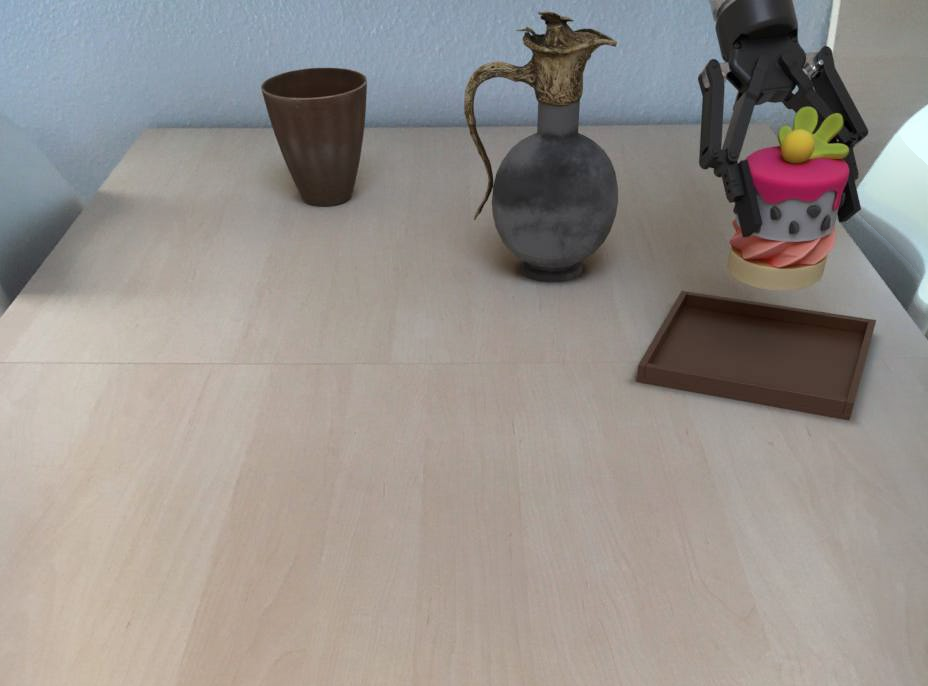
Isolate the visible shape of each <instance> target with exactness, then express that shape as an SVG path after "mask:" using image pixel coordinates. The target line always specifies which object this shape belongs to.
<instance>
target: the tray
mask: <svg viewBox="0 0 928 686" xmlns="http://www.w3.org/2000/svg"><path fill="white" fill-rule="evenodd" d="M876 323H877V320H876V319H874V318H873V319H871V318H865V317H858V316H852V315H846V314H838V313H832V312H826V311H820V310H819V311H818V310H812V309H807V308H806V309H805V308H800V307H799V308H798V307H793V306H786V305H780V304H774V303H773V304H772V303H765V302H760V301H753V300H745V299H738V298H732V297H725V296H719V295H713V294H708V293H707V294H705V293H699V292H694V291H686V290H681V291H680V293H679V294H678V296H677V298H676V299H675V302H674V303H673V304H672V307H671V308H670V309H669V311H668V313H667V315H666V317H665V318H664V320H663V322H662V324H661V325H660V327H659V328H658V330H657V332H656V334H655V336H654V337H653V339H652V341H651V342H650V344H649V346H648V348H647V350H646V351H645V353H644V355H643V356H642V358H641V360H640V362H639V363H638V365H637V372H636V373H637V374H636V383H638V384H645V385H649V386H656V387H661V388H667V389H672V390H677V391H683V392H688V393H694V394H699V395H705V396H710V397H716V398H721V399H727V400H733V401H738V402H744V403H749V404H755V405H761V406H766V407H771V408H777V409H782V410H783V409H784V410H788V411H794V412H798V413H799V412H800V413H804V414H811V415H814V416H815V415H816V416H822V417H827V418H833V419H839V420H844V421H850V420H851V417H852V413H853V409H854V406H855V402H856V398H857V395H858V391H859V387H860V383H861V380H862V376H863V372H864V369H865V364H866V361H867V357H868V354H869V349H870V347H871V341H872V339H873V335H874V331H875V327H876Z"/></svg>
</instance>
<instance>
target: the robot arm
mask: <svg viewBox="0 0 928 686" xmlns="http://www.w3.org/2000/svg"><path fill="white" fill-rule="evenodd" d="M708 3H709V6H710V10H711V14H712V18H713V21H714V22H715V26H714V27H715V28H714V29H715V33H716V34H715V35H716V38H717V42H718V46H719V51H720V56H721V58H722V60H723V61H724V62H720V61H719V60H718V59H716V58H711V59H709V60H708V62H707V63H706V64H705V66H704V68H703V69H702V71H700V73H699V74H698V77H697V81H698V85H699V88H700V92H701V96H702V98H701V99H702V102H701V118H700V120H701V121H700V136H699V154H698V155H699V156H698V165H699V167H700V169H702V170H708V169H713V174H714V176H715V177H717V178H721V181H722V184H723V189H724V193H725V197H726V200H727V201H728V203H729V204H731V203H734V206H736V211H737V215H738V219H739V223H740V228H741V232H742V236H743V237H749V236H751V235H752V234H753V233H754V232H755V231H756V230H757V229H758V228H759V227H760V226H762V225H763V223H762V219H761V215H760V210H759V206H758V202H757V197H756V193H755V189H754V184H753V180H752V176H751V172H750V167H749V163H748V160H745V159H742V160H740V161H738V160H739V158H740V156H741V152H742V149H743V146H744V142H745V140H746V136H747V132H748V130H749V126H750V123H751V119H752V115H753V113H754V110H755V106H762V105H763V104H765V103H773V104H776V103H782V104H783V105H784V107H785V108H786V109H788V110H792V111H793V112H794V113H795V114H796V113H797V112H798V111H799V110H800V109H801V108H803V107H812V108H814V109H815V110H816V111H817V115H818V121H817V125H816V128H815V130H814V132H813V134H815V133H816V132H817V130H818V129H819V128H820V126H821V124H822V123H823V121H824V120H825V119H826V118H827V117H828V116H830V115H832V114H835V113H839V114H841V115H842V117H843V127H842V129H841V131H840V132H839V133H838V134H837V135H836V136H835V137H834V138H832V139H831V140H830V142H829V143H828V144H835V143H840V144H844V145H846V146H847V147H848V148H849V153H848V155H847V156H846V157H845V158H842V159H843V160H844V161H845V162H846V163H847V165H848V167H849V177H848V181H847V183H846V186H845V188H844V190H843V193H845V199H844V203H843V205H842V207H840V208H839V209H838V213H837V218H838V223H846V222H847V221H849V219H852V217H853V216H855V215H856V214H857V213H859V212H860V211H861V210H862V206H861V201H860V198H859V194H858V188H857V185H856V181H857V180H858V179H859V173H860V172H859V169H858V164H857V159H856V156H855V155H856V154H855V152H854V151H855V150H854V148H855V147H856V146H858V144H860V143H861V142H862V141H863V140H864V139H865V138H866V137H867V136H869V129H868V127H867V125H866V123H865V121H864V119H863V117H862V116H861V114H860V112H859V109H858V107H857V105H856V104H855V102H854V101H853V98H852V97H851V94H850V93H849V91H848V88H847V87H846V86H845V83H844V82H843V80H842V78H841V76H840V74H839V73H838V70H837V69H836V66H835V59H834V55H833V51H832V49H831V47H830V46H828V45H824V46H822V47H821V49H819V50H818V51H817V52H806V51H805V50H804V48H803V47H802V45H801V44H800V42H799V22H798V19H797V14H796V9H795V6H794V1H793V0H708ZM804 70H805V71H804ZM727 81H728V82H729V83H730V84H731V86H732V87H734V88H735V90H737V93H736V96H735V99H734V102H733V107H732V115H731V118H730V121H729V124H728V128H727V131H726V134H725V137H724V141H723V127H724V126H723V123H724V106H725V83H726V82H727ZM796 87H797V88H798V89H797V91H796V92H795V93H793V92H794V90H795V89H796ZM813 134H812V135H813ZM722 143H723V145H722Z"/></svg>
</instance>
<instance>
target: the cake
mask: <svg viewBox="0 0 928 686" xmlns="http://www.w3.org/2000/svg"><path fill="white" fill-rule="evenodd" d="M817 121H818V115H817V111H816V110H815V109H814V108H812V107H803V108H801V109H800V110H799V111H798V112H797V113H795V115H794V118H793V123H792V124H793V129H792V127H791V126H789V125H783V126H781V127H780V128H779V130H778V132H777V141H778V144H779V145H775V146H768V147H764V148H761V149H758V150H756V151H753V152H751V153H750V154H749V155H748V156H746V157H745V159H744V160H748V163H749V167H750V172H751V176H752V180H753V184H754V189H755V193H756V197H757V202H758V206H759V210H760V215H761V219H762V223H763V225H762V226H760V227H759V228H758V229H757V230H756V231H755V232H754V233H753V234H752V235H751V236H749V237H743V236H742V232H741V228H740V223H739V219H738V215H737V211H736V206H735V205H734V206H733V210H732V211H733V213H734V215H735V218H734V219H733V220H732V221H731V224H732V227H733V228H734V231H735V233H734V234H733V235H732V236H731V238H730V239H729V242H728V243H729V245H730V250H729V253H728V260H727V271H728V273H729V274H730V275H731V276H732V277H733V279H735V280H737V281H738V282H741V283H743V284H745V285H748V286H751V287H753V288H756V289H757V288H758V289H762V290H763V289H764V290H769V291H785V292H787V291H795V290H803V289H806V288H809V287H813V286H814V285H816V284H817V283H819V282H821V279H822V277H823V276H824V272H825V268H826V263H827V261H828V255H829V253H830V252H831V251H832V250H833V249H834V247H835V243H836V238H837V235H836V234H837V233H836V226H835V225H836V221H837V218H838V215H837V213H838V209H839V208H840V207H842V205H843V203H844V199H845V193H843V190H844V188H845V186H846V183H847V181H848V177H849V167H848V165H847V163H846V162H845V161H844V160H843V159H842V158H845V157H846V156H847V155H848V153H849V148H848V147H847V146H846V145H844V144H840V143H835V144H828V143H829V142H830V140H831V139H832V138H834V137H835V136H836V135H837V134H838V133H839V132H840V131H841V129H842V127H843V117H842V115H841V114H839V113H835V114H832V115H830V116H828V117H827V118H826V119H825V120H824V121H823V123H822V124H821V126H820V128H819V129H818V130H817V132H816V133H815V134H813V132H814V130H815V128H816V125H817Z"/></svg>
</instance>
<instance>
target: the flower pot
mask: <svg viewBox="0 0 928 686" xmlns="http://www.w3.org/2000/svg"><path fill="white" fill-rule="evenodd" d="M260 89H261V93H262V96H263V100H264V104H265V107H266V111H267V114H268V119H269V121H270V123H271V128H272V130H273V134H274V136H275V139H276V141H277V144H278V147H279V150H280V153H281V155H282V158H283V160H284V163H285V165H286V167H287V169H288V172H289V174H290V176H291V178H292V180H293V183H294V184H295V186H296V189H297V190H298V192H299V194H300V197H301V198H302V200H303V202H305V204H307V205H309V206H314V207H332V206H333V207H334V206H338V205H341V204H344V203H346V202H348V201H350V199H351V198H352V196H353V192H354V188H355V184H356V181H357V175H358V171H359V167H360V166H359V165H360V160H361V156H362V148H363V142H364V133H365V124H366V113H367V95H368V94H367V91H368V78H367V77H366V75H364V74H363V73H361V72H359V71H357V70H353V69H348V68H341V67H311V68H309V67H308V68H300V69H296V70H295V69H294V70H290V71H289V70H288V71H285V72H282V73H279V74H276V75H273V76H271V77H269V78H267V79H265V81H263V82H262V83H261V86H260Z"/></svg>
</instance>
